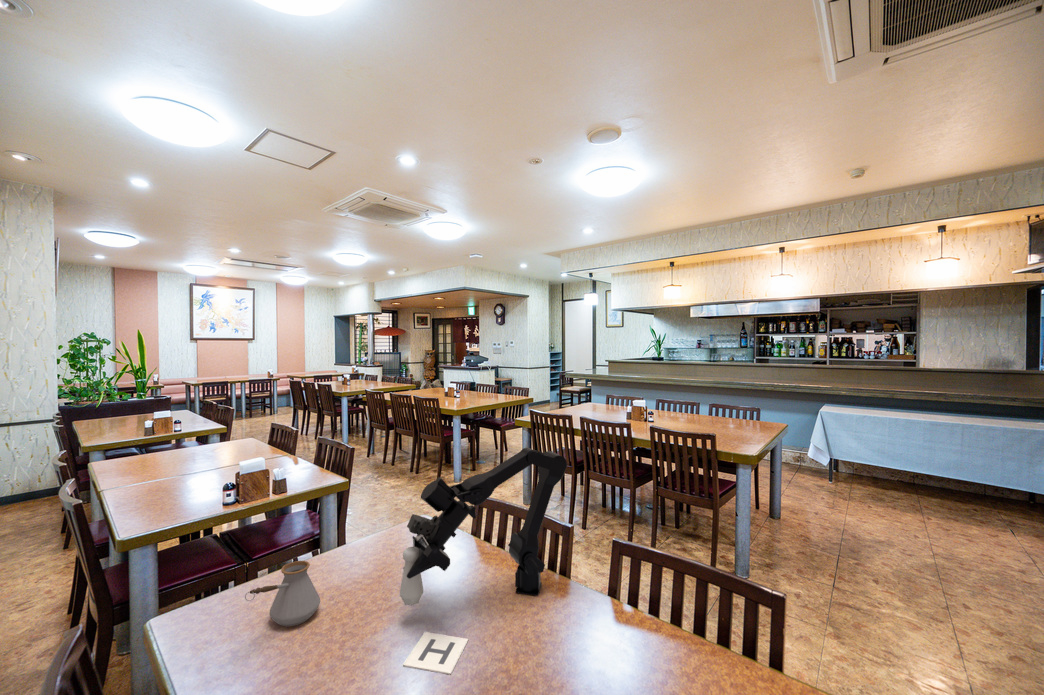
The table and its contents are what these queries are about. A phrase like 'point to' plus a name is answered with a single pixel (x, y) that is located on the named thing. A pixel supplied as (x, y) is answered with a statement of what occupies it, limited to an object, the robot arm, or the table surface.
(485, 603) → the table surface
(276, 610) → the coffee pot
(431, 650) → the letter card
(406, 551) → the salt shaker
